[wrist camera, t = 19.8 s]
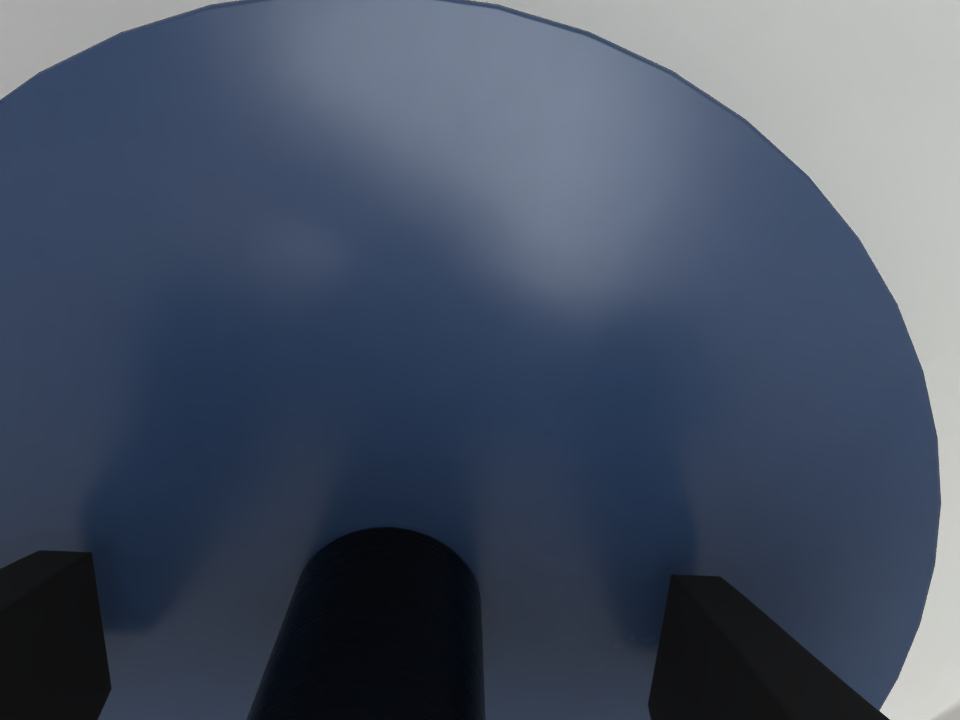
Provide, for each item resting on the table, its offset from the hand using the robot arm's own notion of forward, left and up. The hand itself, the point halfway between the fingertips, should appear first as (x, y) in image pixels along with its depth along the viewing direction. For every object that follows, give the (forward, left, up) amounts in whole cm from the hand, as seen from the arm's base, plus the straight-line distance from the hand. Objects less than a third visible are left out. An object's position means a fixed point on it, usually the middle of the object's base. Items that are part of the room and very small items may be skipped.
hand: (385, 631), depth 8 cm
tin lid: (0, 0, -1) cm, 1 cm away
